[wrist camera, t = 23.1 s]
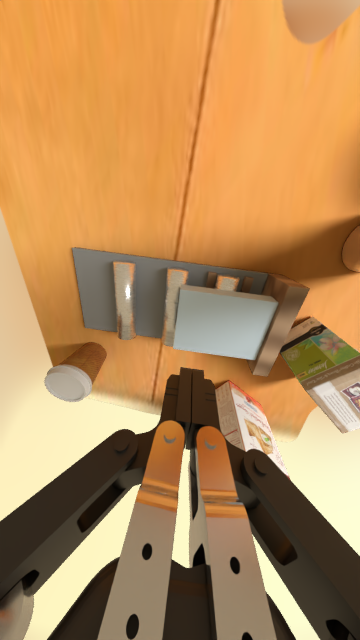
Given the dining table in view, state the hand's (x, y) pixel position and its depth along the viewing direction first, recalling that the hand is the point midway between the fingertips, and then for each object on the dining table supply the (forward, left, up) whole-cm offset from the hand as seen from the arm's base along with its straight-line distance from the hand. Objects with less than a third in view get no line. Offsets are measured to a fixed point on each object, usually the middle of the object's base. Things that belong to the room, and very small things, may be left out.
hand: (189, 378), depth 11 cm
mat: (+6, -5, -27) cm, 28 cm away
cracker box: (+32, +18, -27) cm, 46 cm away
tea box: (+13, +29, -27) cm, 42 cm away
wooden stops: (+6, +10, -27) cm, 29 cm away
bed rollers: (+6, -8, -26) cm, 28 cm away
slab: (+6, +6, -22) cm, 23 cm away
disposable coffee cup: (+23, -23, -27) cm, 42 cm away
